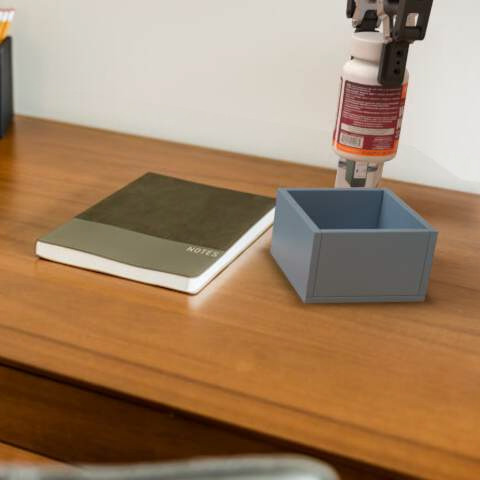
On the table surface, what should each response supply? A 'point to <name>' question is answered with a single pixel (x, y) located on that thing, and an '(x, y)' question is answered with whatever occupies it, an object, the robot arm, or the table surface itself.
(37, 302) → the table surface
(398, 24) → the robot arm
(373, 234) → the bin
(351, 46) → the pill bottle
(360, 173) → the ink box
